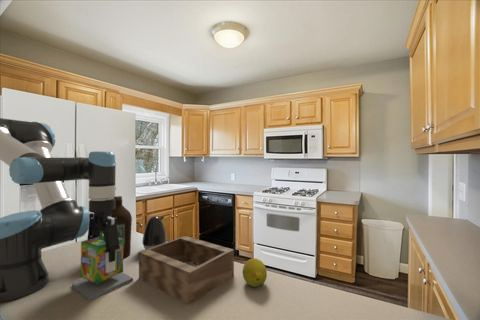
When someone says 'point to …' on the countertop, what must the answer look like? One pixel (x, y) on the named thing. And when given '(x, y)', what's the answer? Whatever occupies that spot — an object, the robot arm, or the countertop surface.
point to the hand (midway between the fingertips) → (102, 266)
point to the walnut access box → (186, 267)
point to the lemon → (254, 272)
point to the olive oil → (123, 224)
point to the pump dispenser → (154, 233)
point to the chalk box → (98, 259)
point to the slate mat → (101, 285)
